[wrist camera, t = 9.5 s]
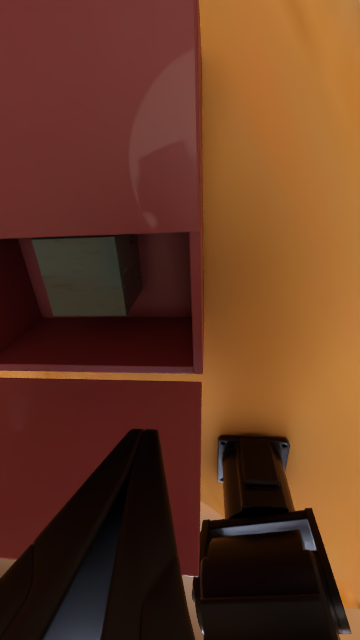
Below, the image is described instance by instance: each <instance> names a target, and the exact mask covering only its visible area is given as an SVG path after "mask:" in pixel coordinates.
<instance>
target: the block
mask: <svg viewBox="0 0 360 640" xmlns="http://www.w3.org/2000/svg"><path fill="white" fill-rule="evenodd" d="M31 241H32V244H33V248H34V251H35V255H36V258H37V262H38V265H39V268H40V272H41V275H42V279H43V282H44V286H45V289H46V292H47V296H48V299H49V303H50V306H51V310H52V313H53V316H127V315H128V313H129V311H130V310H131V308H132V306H133V304H134V303H135V301H136V299H137V298H138V296H139V294H140V293H141V291H142V289H143V284H142V276H141V267H140V259H139V250H138V242H137V234H122V235H94V236H66V237H38V238H33V239H31Z"/></svg>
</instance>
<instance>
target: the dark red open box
mask: <svg viewBox="0 0 360 640" xmlns="http://www.w3.org/2000/svg"><path fill="white" fill-rule="evenodd" d="M122 234H137V242H138V250H139V259H140V267H141V276H142V284H143V289H142V291H141V293H140V294H139V296H138V298H137V299H136V301H135V303H134V304H133V306H132V308H131V310H130V311H129V313H128V315H127V316H53V313H52V310H51V306H50V303H49V299H48V296H47V292H46V289H45V286H44V282H43V279H42V275H41V272H40V268H39V265H38V262H37V258H36V255H35V251H34V248H33V244H32V241H31V239H33V238H38V237H66V236H94V235H122ZM203 342H204V264H203V160H202V57H201V35H200V13H199V0H0V370H1V371H58V372H115V373H172V374H193V373H194V374H202V373H203Z"/></svg>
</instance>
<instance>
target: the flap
mask: <svg viewBox="0 0 360 640" xmlns="http://www.w3.org/2000/svg"><path fill="white" fill-rule="evenodd" d="M201 397H202V383H201V382H184V381H135V380H87V379H38V378H0V558H3V559H14V560H17V559H18V558H19V557H20V556H21V555H22V553H23V552H24V551H25V550H26V549H27V548H28V547H29V545H30V544H33V542H34V540H35V539H36V538H37V536H38V535H39V534H40V533H41V532H42V531H43V529H44V528H45V527H46V526H47V525H48V524H49V523H50V521H51V520H52V519H53V518H54V517H55V516H56V514H57V513H58V512H59V511H60V510H61V509H62V508H63V506H64V505H65V504H66V503H67V502H68V501H69V499H70V498H71V497H72V496H73V495H74V494H75V493H76V491H77V490H78V489H79V488H80V487H81V486H82V484H83V483H84V482H85V481H86V480H87V479H88V478H89V476H90V475H91V474H92V473H93V472H94V471H95V469H96V468H97V467H98V466H99V465H100V464H101V463H102V461H103V460H104V459H105V458H106V457H107V456H108V454H109V453H110V452H111V451H112V450H113V449H114V448H115V446H116V445H117V444H118V443H119V442H120V441H121V439H122V438H123V437H124V436H125V435H126V434H127V433H128V431H129V430H130V429H133V428H135V429H144V430H146V429H157V430H158V431H159V437H160V443H161V449H162V456H163V462H164V468H165V475H166V481H167V487H168V494H169V500H170V506H171V512H172V519H173V525H174V531H175V538H176V544H177V550H178V557H179V562H180V568H181V574H182V575H184V576H195V577H198V576H199V558H200V477H201Z"/></svg>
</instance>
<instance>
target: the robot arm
mask: <svg viewBox="0 0 360 640" xmlns="http://www.w3.org/2000/svg"><path fill="white" fill-rule="evenodd" d="M289 448H290V444H289V441H288V440H287V439H284V438H262V437H237V436H221V437H219V439H218V475H217V476H218V481H219V482H222V483H223V489H224V508H225V519H222V520H212V521H210V520H203V523H202V530H201V532H200V558H199V576H198V577H195V576H194V579H193V589H192V599H193V601H194V603H195V607H196V613H197V618H198V623H199V626H200V629H201V631H202V633H203V634H204V640H340V637H339V634H351V630H350V627H349V623H348V620H347V617H346V614H345V610H344V607H343V604H342V601H341V598H340V594H339V591H338V588H337V585H336V582H335V579H334V576H333V572H332V569H331V566H330V563H329V560H328V557H327V554H326V551H325V548H324V544H323V541H322V538H321V535H320V532H319V529H318V526H317V523H316V520H315V517H314V514H313V510H312V508H306V509H305V510H301V511H295V509H294V505H293V502H292V498H291V494H290V490H289V487H288V483H287V479H286V475H285V468H286V463H287V458H288V453H289ZM0 640H195V637H194V632H193V629H192V624H191V620H190V616H189V612H188V607H187V602H186V596H185V591H184V586H183V581H182V574H181V568H180V562H179V557H178V550H177V544H176V538H175V531H174V525H173V519H172V512H171V506H170V500H169V494H168V487H167V481H166V475H165V468H164V462H163V456H162V449H161V443H160V437H159V431H158V430H157V429H146V430H144V429H135V428H133V429H130V430H129V431H128V433H127V434H126V435H125V436H124V437H123V438H122V439H121V441H120V442H119V443H118V444H117V445H116V446H115V448H114V449H113V450H112V451H111V452H110V453H109V454H108V456H107V457H106V458H105V459H104V460H103V461H102V463H101V464H100V465H99V466H98V467H97V468H96V469H95V471H94V472H93V473H92V474H91V475H90V476H89V478H88V479H87V480H86V481H85V482H84V483H83V484H82V486H81V487H80V488H79V489H78V490H77V491H76V493H75V494H74V495H73V496H72V497H71V498H70V499H69V501H68V502H67V503H66V504H65V505H64V506H63V508H62V509H61V510H60V511H59V512H58V513H57V514H56V516H55V517H54V518H53V519H52V520H51V521H50V523H49V524H48V525H47V526H46V527H45V528H44V529H43V531H42V532H41V533H40V534H39V535H38V536H37V538H36V539H35V540H34V542H33V544H30V545H29V547H28V548H27V549H26V550H25V551H24V552H23V553H22V555H21V556H20V557H19V558H18V559H17V560H16V562H15V563H14V564H13V565H12V566H11V567H10V568H9V570H7V572H6V573H5V574H4V575H3V576H2V577H1V578H0Z"/></svg>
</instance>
